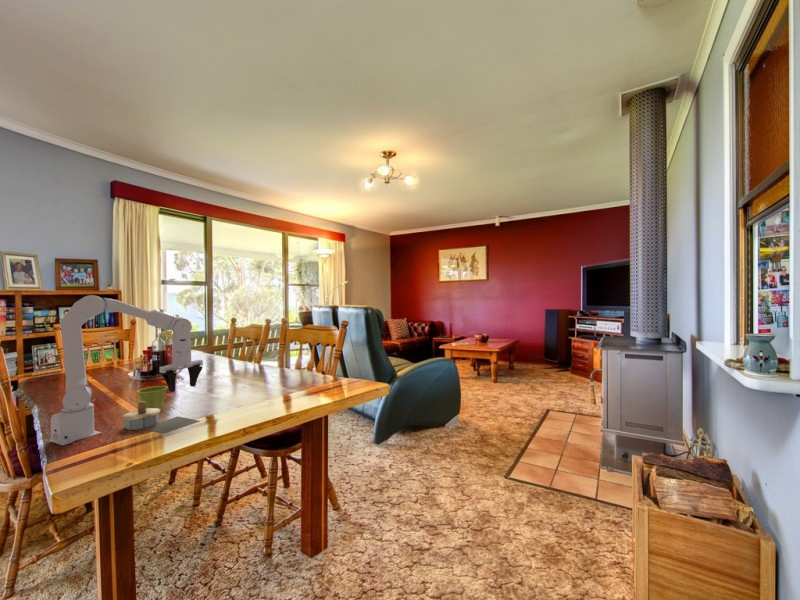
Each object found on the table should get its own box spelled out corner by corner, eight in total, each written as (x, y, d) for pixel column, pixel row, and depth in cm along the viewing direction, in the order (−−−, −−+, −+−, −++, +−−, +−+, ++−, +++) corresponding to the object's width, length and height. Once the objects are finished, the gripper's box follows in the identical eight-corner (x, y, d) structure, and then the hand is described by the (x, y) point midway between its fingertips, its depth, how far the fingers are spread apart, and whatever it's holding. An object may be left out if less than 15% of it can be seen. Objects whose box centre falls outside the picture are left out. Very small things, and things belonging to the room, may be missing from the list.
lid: (136, 421, 109) (135, 408, 109) (115, 418, 113) (115, 405, 113) (167, 411, 119) (167, 399, 119) (147, 408, 122) (147, 396, 122)
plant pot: (132, 413, 129) (132, 390, 129) (159, 406, 138) (159, 384, 138) (146, 417, 125) (145, 393, 125) (173, 409, 133) (173, 387, 133)
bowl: (135, 433, 110) (135, 420, 110) (119, 429, 114) (119, 417, 114) (163, 424, 118) (163, 412, 118) (148, 420, 122) (147, 409, 122)
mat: (163, 435, 108) (163, 433, 108) (140, 430, 113) (140, 428, 113) (200, 422, 119) (200, 420, 119) (177, 418, 124) (177, 416, 124)
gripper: (168, 355, 117) (169, 395, 117) (207, 348, 130) (208, 385, 130) (155, 353, 120) (156, 393, 120) (195, 348, 133) (196, 383, 133)
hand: (182, 388), depth 125 cm, fingers open, 7 cm apart
